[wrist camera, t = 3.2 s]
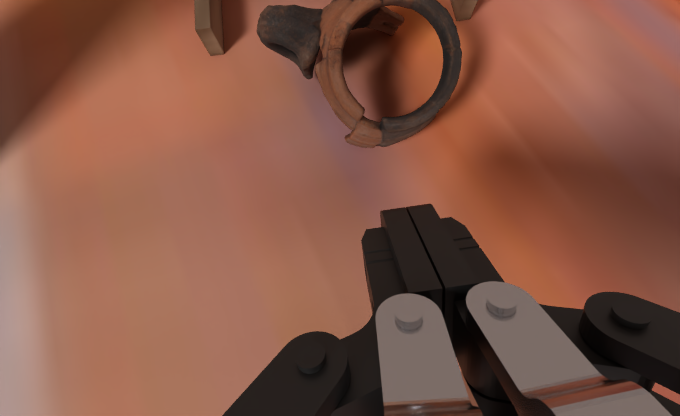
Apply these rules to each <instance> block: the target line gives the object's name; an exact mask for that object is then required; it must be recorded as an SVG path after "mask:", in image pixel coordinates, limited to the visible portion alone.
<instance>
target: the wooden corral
mask: <svg viewBox="0 0 680 416" xmlns="http://www.w3.org/2000/svg"><path fill="white" fill-rule="evenodd" d="M477 1H478V0H451V4H452V7H453V11H454V15H455V18H456V21H460V20H467V19H470V18H471V15H472V13H473V10H474V8H475V5H476V3H477ZM194 5H195V30H196V32H197V34H198V35H199V37H200V39H201V41H202V42H203V44H204V46H205V47H206V49H207V51H208V53H209V54H210V56H213V55H220V54H224V43H223V24H222V5H221V0H194Z"/></svg>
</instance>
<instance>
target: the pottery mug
mask: <svg viewBox="0 0 680 416" xmlns="http://www.w3.org/2000/svg"><path fill="white" fill-rule="evenodd" d="M390 5H394V6H401V7H405V8H409V9H413V10H415V11H417V12H418V13H420V14H421V15H422V16H424V17H425V18H426V19H427V20H428V21H429V22H430V24H431V25H432V26H433V28H434V29H435V30H436V32H437V34H438V36H439V39H440V42H441V45H442V48H443V69H442V75H441V79H440V81H439V84H438V86H437V88H436V90H435V92H434V93H433V95H432V96H431V97H430V99H429V100H428V101H427V102H426V103H425V104H423V105H422V106H421V107H420V108H418V109H417V110H415V111H414V112H412V113H410V114H407V115H403V116H399V117H383V118H382V121H381V122H380V123H378V122H376V121H373V120H369V119H367V118H366V117H364V116H363V114H364V111H365V109H364V107H362V106H361V105H360V104H359V103H358V101H357V100H356V99H355V98H354V97H353V95H352V94H351V92H350V91H349V89H348V87H347V84H346V81H345V78H344V74H343V66H342V56H343V53H342V51H343V48H344V44H345V41H346V39H347V37H348V35H349V33H350V31H351V30H354V29H357V28H364V27H366V28H372V29H376V30H379V31H382V32H385V33H387V34H389V35H393V34H394V33H395V31H396V30H397V28H398V26H400V25H401V24H403V22H404V18H403V17H402V16H401V15H399V14H397V13H395V12H393V11H391V10H389V9H388V8H386V7H384V6H390ZM257 34H258V36H259V38H260V40H261V42H262V43H263V44H264V45H265V46H266V47H268V48H270V49H271V50H273V51H275V52H277V53H279V54H281V55H282V56H284V57H286V58H288V59H290V60H291V61H293V62H294V63H296V64H297V65H298V67H299V68H300V70H301V71H302V73H303V76H304V77H305V78H307V79H311V78H312V77H313V70H314V65H315V62H316V57H317V56H318V52H319V49H321V51H322V55H323V59H322V61H320V62H319V63H317V64H316V65H315V71H316V74H317V77H318V80H319V83H320V85H321V87H322V90H323V93H324V95H325V97H326V99H327V100H328V102H329V104H330V105H331V107H332V109H333V111H334V112H335V114H336V115H337V117H338V118H339V119H340V120H341V121H342V122H343V123H344V124H345V125H346V126H347V127H348V128H349V129H351V130H352V132H351V134H348V135H346V136H345V140H346V142H347V143H349V144H352V145H356V146H359V147H365V148H367V147H369V148H374V147H375V146H376V145H379V146H381V147H386V146H389V145H392V144H395V143H397V142H400V141H402V140H404V139H406V138H408V137H410V136H412V135H414V134H416V133H417V132H419V131H420V130H422V129H423V128H424V127H426V126H427V125H428V124H429V123H430V122H431V121H432V120H433V119H434V118H435V116H436V114H437V113H438V111H439V109H441V108H442V107H443V106H444V105H445V103H446V102H447V101H448V100H449V99H450V97H451V94H452V92H453V91H454V88H455V86H456V84H457V82H458V79H459V74H460V70H461V58H462V51H461V48H460V40H459V36H458V33H457V28H456V26H455V24H454V22H453V19H452V17H451V15H450V14H449V13H448V11H447V9H446V8H444V7H443V6H442V5H441V4H440V3H439V2H438V1H436V0H333V1H332V2H331V3H330V4H329V5H327V6H326V7H324V8H323V9H311V8H305V7H301V6H297V5H288V6H282V5H276V6H267V7H266V8H265V9H264V11H262V12H261V14H260V18H259V20H258V25H257Z"/></svg>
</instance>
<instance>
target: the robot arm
mask: <svg viewBox="0 0 680 416" xmlns="http://www.w3.org/2000/svg"><path fill="white" fill-rule="evenodd" d="M380 217H381V227H380V228H373V229H366V231H365V234H364V236H363V238H362V240H361V241H362V250H363V258H364V266H365V274H366V281H367V287H368V292H369V297H370V303H371V308H372V313H373V314H372V317H371V319H370V320H369V322H368V323H367V324H366V325H365V326H364V327H363V328H362V329H360V330H359V331H357V332H356V333H354V334H352V335H350V336H347V337H345V338H343V339H341V340H339V339H338V338H337V337H336V336H334V335H332V334H330V333H326V332H319V331H316V332H309V333H305V334H302V335H300V336H298V337H296V338H294V339H293V340H291V341H290V342H289V343H288V344H287V345H286V346H285V347H284V348H283V349H282V350H281V351H280V352H279V353H278V355H277V356H276V357H275V358H274V359H273V360H272V361H271V362H270V363H269V365H268V366H267V367H266V368H265V369H264V370H263V371H262V372H261V373H260V374H259V376H258V377H257V378H256V379H255V380H254V381H253V382H252V383H251V384H250V386H249V387H248V388H247V389H246V390H245V391H244V392H243V393H242V394H241V396H240V397H239V398H238V399H237V400H236V401H235V402H234V403H233V404H232V405H231V407H230V408H229V409H228V410H227V411H226V412H225V413H224V414H223V415H222V416H680V405H679V404H677V403H675V402H673V401H671V400H669V399H667V398H665V397H663V396H662V395H660V394H658V393H656V392H654V391H652V388H653V386H654V384H655V382H656V383H658V384H660V385H662V386H664V387H666V388H668V389H670V390H672V391H674V392H676V393H678V394H680V313H678V312H676V311H673V310H670V309H668V308H665V307H663V306H660V305H657V304H655V303H652V302H649V301H647V300H644V299H641V298H639V297H636V296H633V295H629V294H625V293H619V292H602V293H597V294H594V295H592V296H591V297H589V298H588V299H587V301H586V303H585V306H584V309H573V308H564V307H554V306H547V305H542V304H538V303H537V302H536V301H535V299H534V298H533V297H532V296H531V295H530V294H528V293H527V292H526V291H524V290H523V289H521V288H519V287H517V286H515V285H512V284H509V283H505V282H504V281H503V279H502V278H501V276H500V275H499V274H498V272H497V271H496V269H495V268H494V266H493V265H492V264H491V262H490V261H489V259H488V258H487V256H486V255H485V254H484V252H483V251H482V249H481V248H479V245H478V244H477V242H476V241H475V239H473V237H472V235H471V234H470V232H469V231H468V229H467V228H466V227H465V225H463V224H461V223H460V222H458V221H456V220H455V219H453V218H452V217H449V218H442V219H440V217H439V216H438V214H437V212H436V211H435V209H434V207H433V206H432V204H424V205H417V206H410V207H406V208H405V207H404V208H397V209H390V210H383V211H381V212H380ZM456 357H457V359H456ZM457 360H458V362H459V365H460V367H461V372H460V369H459V365H458V362H457Z"/></svg>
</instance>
